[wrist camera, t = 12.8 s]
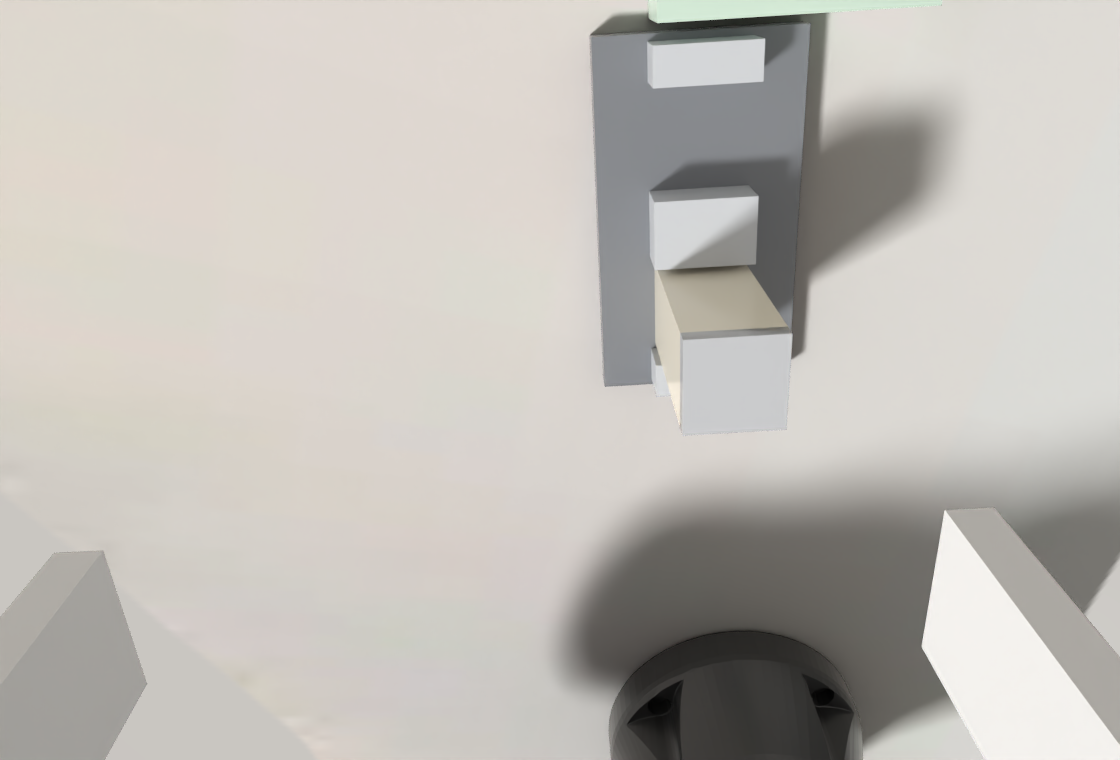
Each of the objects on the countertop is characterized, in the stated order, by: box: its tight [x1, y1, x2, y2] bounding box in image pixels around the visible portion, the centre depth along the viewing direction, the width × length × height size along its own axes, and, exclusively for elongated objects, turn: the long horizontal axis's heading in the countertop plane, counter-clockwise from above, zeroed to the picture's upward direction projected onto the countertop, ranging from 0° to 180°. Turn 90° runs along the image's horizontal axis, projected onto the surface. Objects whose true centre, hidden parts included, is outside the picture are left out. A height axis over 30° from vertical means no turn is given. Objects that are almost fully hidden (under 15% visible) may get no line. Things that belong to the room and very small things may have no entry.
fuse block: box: [590, 22, 811, 397], centre depth 39 cm, size 16×9×3 cm, turn 3°
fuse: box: [654, 265, 793, 436], centre depth 37 cm, size 4×4×9 cm
